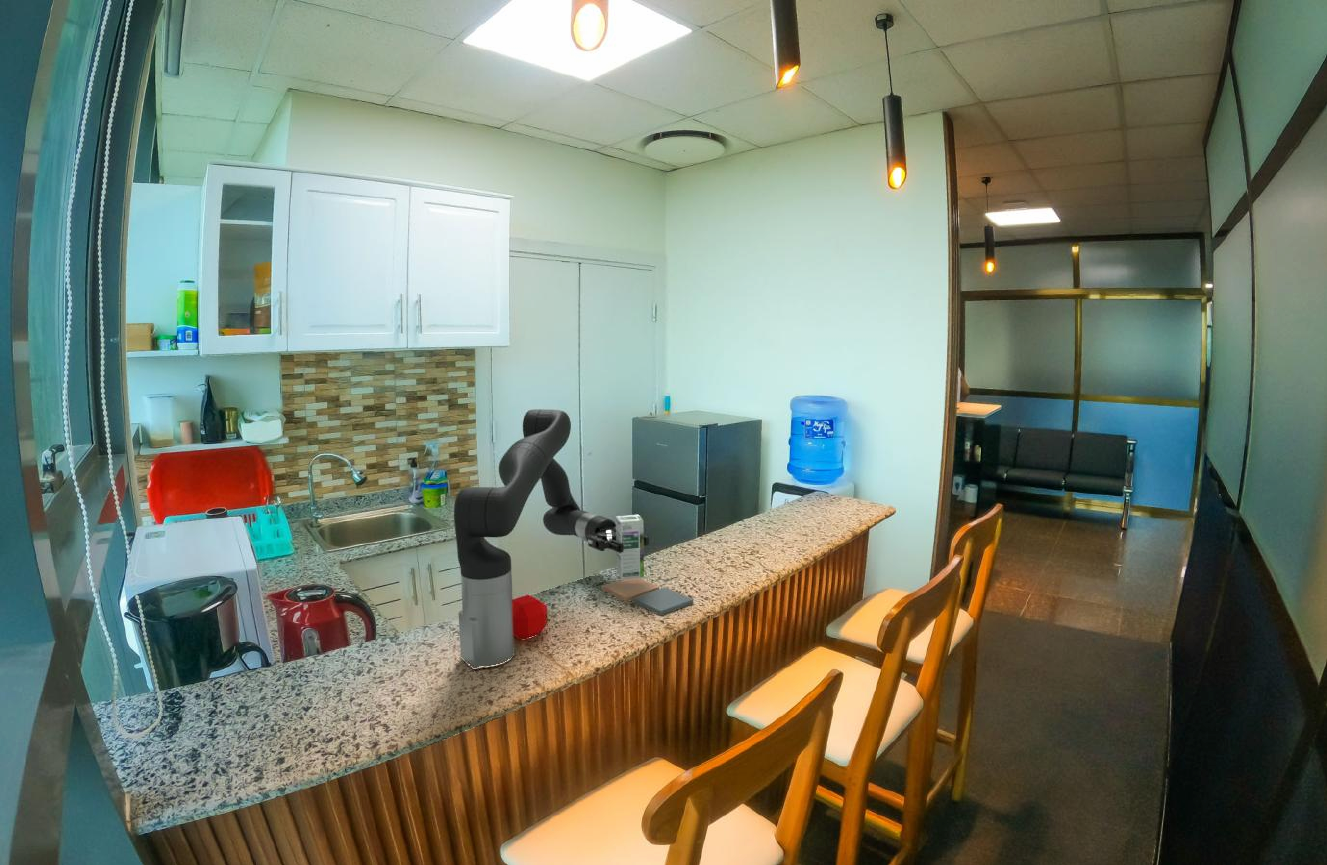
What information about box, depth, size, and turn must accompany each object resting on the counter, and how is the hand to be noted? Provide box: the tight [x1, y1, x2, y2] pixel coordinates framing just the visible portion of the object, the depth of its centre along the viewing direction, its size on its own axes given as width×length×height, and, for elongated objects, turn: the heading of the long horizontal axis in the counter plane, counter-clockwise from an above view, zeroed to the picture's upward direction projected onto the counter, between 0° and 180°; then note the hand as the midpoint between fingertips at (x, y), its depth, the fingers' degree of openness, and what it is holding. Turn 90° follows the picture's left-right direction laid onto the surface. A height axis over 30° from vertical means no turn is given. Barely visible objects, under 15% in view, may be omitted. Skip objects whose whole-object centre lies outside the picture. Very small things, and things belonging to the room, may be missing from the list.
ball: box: [512, 594, 549, 640], centre depth 129 cm, size 8×8×8 cm
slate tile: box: [632, 586, 694, 616], centre depth 145 cm, size 10×10×1 cm
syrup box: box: [615, 514, 645, 580], centre depth 152 cm, size 6×6×14 cm
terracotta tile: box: [601, 578, 660, 603], centre depth 153 cm, size 10×10×1 cm
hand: (635, 545), depth 150 cm, fingers closed on syrup box, 7 cm apart
